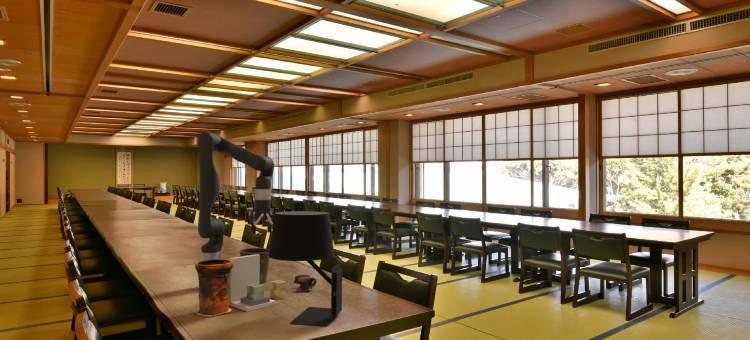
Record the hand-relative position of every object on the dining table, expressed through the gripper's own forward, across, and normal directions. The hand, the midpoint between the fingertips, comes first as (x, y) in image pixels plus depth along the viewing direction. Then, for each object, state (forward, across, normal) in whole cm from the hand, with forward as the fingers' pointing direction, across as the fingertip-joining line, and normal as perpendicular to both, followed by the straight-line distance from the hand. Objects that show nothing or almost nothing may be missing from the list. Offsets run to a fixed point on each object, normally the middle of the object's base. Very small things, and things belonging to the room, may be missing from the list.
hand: (261, 233), depth 210 cm
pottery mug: (+28, -17, +12) cm, 35 cm away
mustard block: (+27, 0, +14) cm, 31 cm away
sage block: (+26, +15, +18) cm, 35 cm away
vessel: (+28, +31, +13) cm, 43 cm away
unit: (+27, +15, +16) cm, 35 cm away
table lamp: (+27, +10, +43) cm, 52 cm away
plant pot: (+28, -11, -20) cm, 36 cm away
